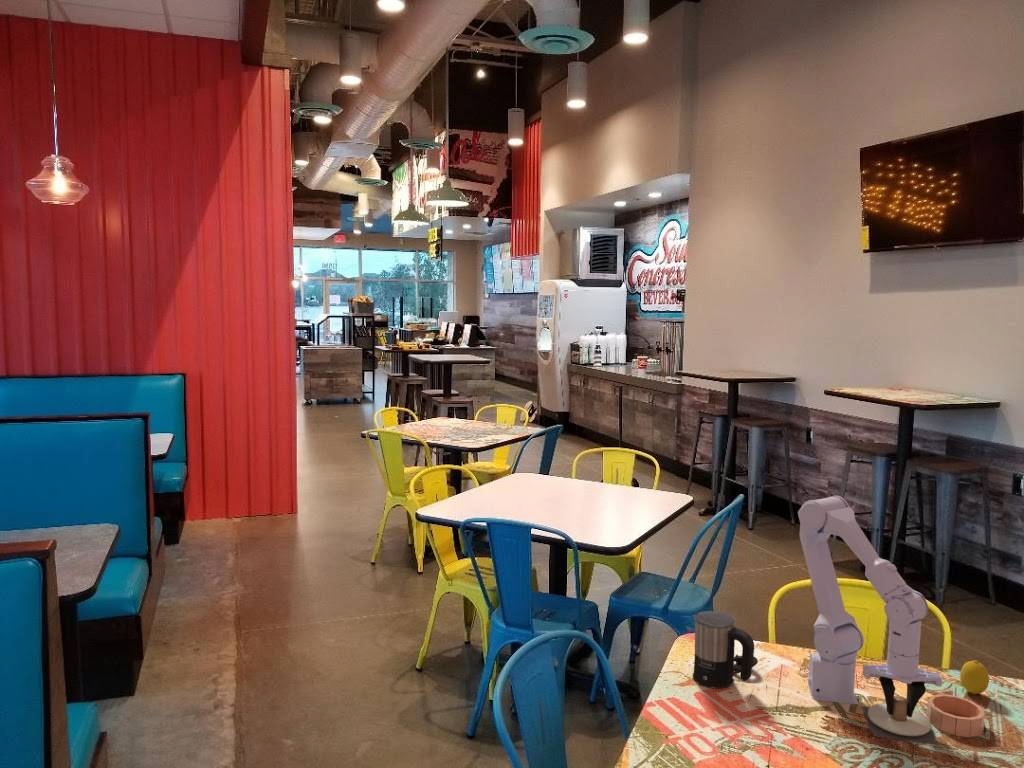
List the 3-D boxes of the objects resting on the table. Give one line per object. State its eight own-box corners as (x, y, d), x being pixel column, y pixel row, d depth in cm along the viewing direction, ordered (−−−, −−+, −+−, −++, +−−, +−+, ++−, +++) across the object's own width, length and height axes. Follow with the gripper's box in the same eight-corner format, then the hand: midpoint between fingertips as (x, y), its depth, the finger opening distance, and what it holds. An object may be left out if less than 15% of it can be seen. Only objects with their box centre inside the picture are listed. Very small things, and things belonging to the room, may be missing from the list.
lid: (874, 731, 157) (875, 710, 157) (862, 702, 168) (864, 682, 168) (937, 739, 154) (939, 717, 154) (921, 709, 166) (922, 689, 165)
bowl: (935, 734, 158) (936, 715, 158) (921, 709, 168) (922, 691, 168) (989, 741, 156) (991, 722, 156) (973, 715, 166) (974, 697, 165)
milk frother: (689, 685, 178) (691, 622, 176) (698, 655, 193) (700, 598, 191) (754, 696, 173) (756, 632, 171) (758, 666, 188) (761, 606, 186)
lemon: (991, 702, 172) (994, 667, 171) (964, 699, 173) (966, 664, 172) (981, 690, 177) (984, 656, 176) (955, 687, 178) (957, 653, 177)
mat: (873, 737, 157) (873, 735, 157) (861, 707, 169) (861, 705, 169) (938, 746, 154) (939, 744, 154) (922, 715, 166) (922, 713, 166)
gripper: (869, 655, 158) (865, 718, 159) (948, 663, 154) (943, 728, 156) (862, 640, 164) (858, 701, 166) (938, 648, 161) (933, 710, 162)
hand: (899, 713), depth 161 cm, fingers closed on lid, 3 cm apart
